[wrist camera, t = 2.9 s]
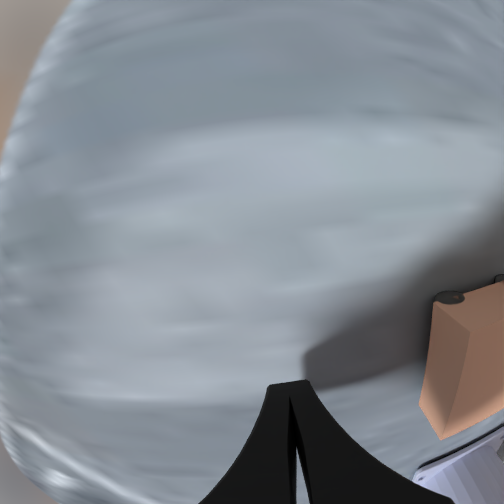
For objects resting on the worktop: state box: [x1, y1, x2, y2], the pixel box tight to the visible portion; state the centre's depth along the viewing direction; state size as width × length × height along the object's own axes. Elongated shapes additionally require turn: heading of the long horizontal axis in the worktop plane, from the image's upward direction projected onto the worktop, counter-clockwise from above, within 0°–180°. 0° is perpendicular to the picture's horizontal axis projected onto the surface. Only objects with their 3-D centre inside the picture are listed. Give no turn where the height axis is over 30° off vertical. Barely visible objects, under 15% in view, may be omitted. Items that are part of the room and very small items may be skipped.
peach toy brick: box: [419, 274, 504, 440], centre depth 8 cm, size 5×5×3 cm
